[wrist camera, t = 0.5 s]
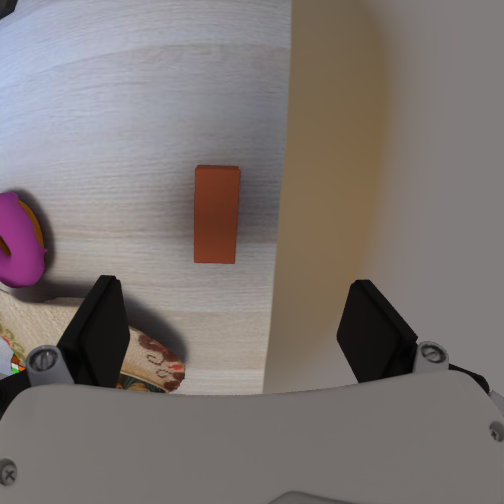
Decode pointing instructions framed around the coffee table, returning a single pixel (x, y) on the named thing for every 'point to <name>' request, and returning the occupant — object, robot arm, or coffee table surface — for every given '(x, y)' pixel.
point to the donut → (19, 243)
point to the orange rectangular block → (216, 213)
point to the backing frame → (7, 7)
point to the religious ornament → (53, 326)
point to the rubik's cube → (16, 364)
